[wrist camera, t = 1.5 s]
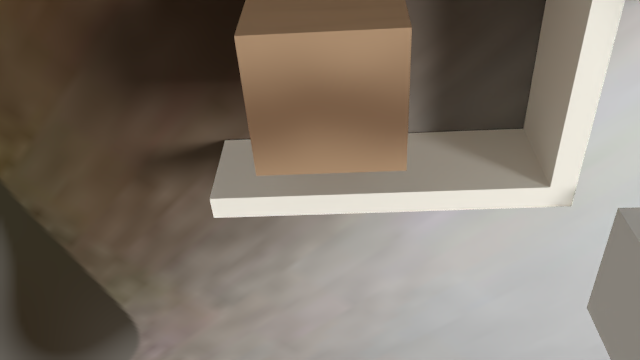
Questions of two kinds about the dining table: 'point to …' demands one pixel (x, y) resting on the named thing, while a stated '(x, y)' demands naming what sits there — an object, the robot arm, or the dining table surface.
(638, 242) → the robot arm
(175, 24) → the dining table surface
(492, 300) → the dining table surface
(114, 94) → the dining table surface
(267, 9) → the block
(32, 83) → the dining table surface
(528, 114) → the cream u-shaped frame
